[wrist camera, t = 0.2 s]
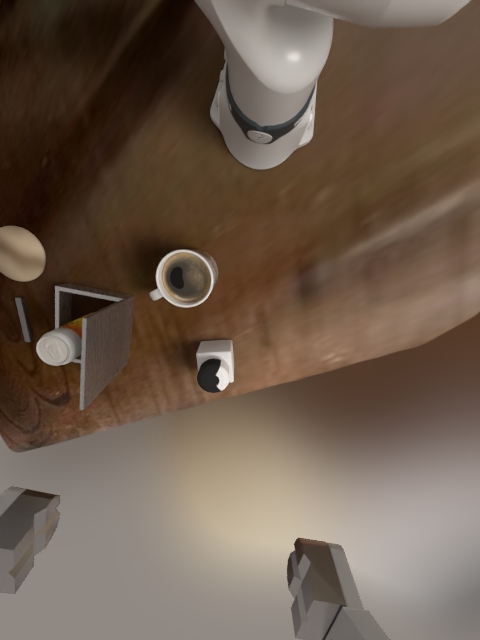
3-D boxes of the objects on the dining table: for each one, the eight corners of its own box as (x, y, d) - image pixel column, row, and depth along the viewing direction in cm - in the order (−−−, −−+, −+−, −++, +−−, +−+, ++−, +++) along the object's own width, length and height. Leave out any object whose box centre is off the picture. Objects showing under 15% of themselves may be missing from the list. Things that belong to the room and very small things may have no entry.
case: (68, 282, 54) (-12, 300, 37) (134, 295, 55) (86, 318, 38) (67, 351, 58) (-5, 395, 41) (128, 362, 59) (83, 410, 42)
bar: (19, 296, 55) (14, 297, 54) (25, 296, 55) (20, 297, 54) (29, 339, 58) (25, 341, 57) (34, 340, 58) (30, 341, 57)
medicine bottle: (204, 369, 60) (195, 398, 48) (200, 340, 58) (191, 364, 46) (234, 367, 60) (233, 396, 48) (231, 338, 58) (230, 361, 46)
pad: (-12, 220, 50) (-14, 220, 50) (45, 232, 51) (44, 232, 51) (-8, 275, 53) (-10, 275, 53) (46, 285, 54) (45, 286, 54)
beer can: (105, 307, 56) (58, 328, 41) (118, 332, 57) (78, 361, 43) (80, 316, 56) (26, 341, 42) (94, 340, 58) (46, 372, 43)
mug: (214, 302, 55) (208, 315, 45) (159, 293, 55) (140, 304, 44) (221, 253, 53) (217, 255, 42) (163, 243, 52) (144, 242, 41)
